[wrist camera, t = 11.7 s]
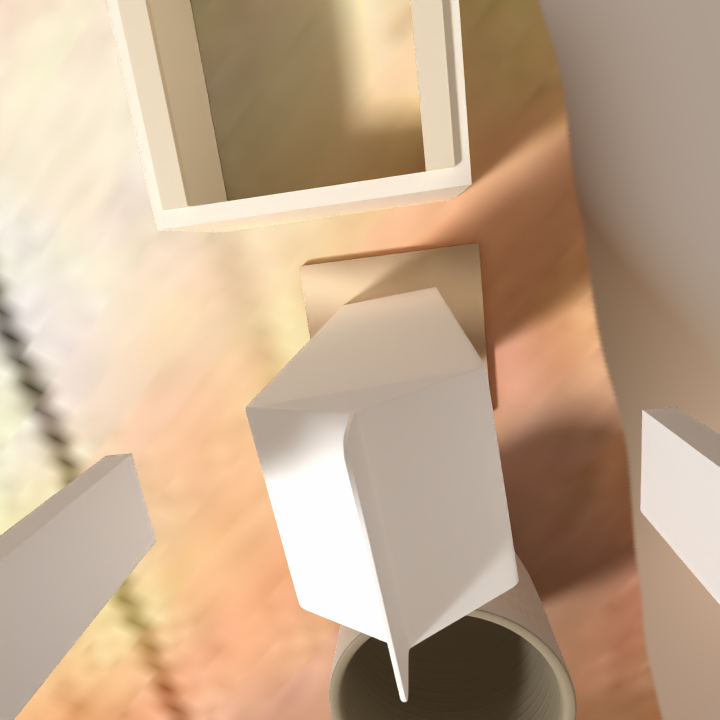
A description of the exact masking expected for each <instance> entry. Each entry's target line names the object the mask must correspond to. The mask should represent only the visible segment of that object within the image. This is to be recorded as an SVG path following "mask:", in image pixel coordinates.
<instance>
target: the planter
mask: <svg viewBox="0 0 720 720" xmlns="http://www.w3.org/2000/svg"><path fill="white" fill-rule="evenodd" d="M515 558H516V564H517V571H518V579H519V581H518V583H517V584H516V585H515V586H514V587H513V588H511V589H509V590H508V591H506V592H504V593H503V594H501V595H499V596H497V597H496V598H494V599H492V600H491V601H489V602H487V603H486V604H484V605H482V606H481V607H479V608H477V609H475V610H474V611H472V612H470V613H469V614H467V615H465V616H464V617H462V618H460V619H459V620H457V621H455V622H453V623H452V624H450V625H448V626H447V627H445V628H443V629H442V630H440V631H438V632H436V633H435V634H433V635H431V636H430V637H428V638H426V639H425V640H423V641H421V642H420V643H418V644H416V645H414V646H413V647H411V648H410V649H409V655H408V700H407V702H402V701H401V699H400V695H399V691H398V687H397V682H396V678H395V674H394V669H393V665H392V661H391V657H390V652H389V648H388V644H387V642H384V641H382V640H379V639H377V638H374V637H372V636H369V635H367V634H364V633H362V632H360V631H357V630H355V629H352V628H350V627H347V626H345V625H342V624H340V630H339V635H338V641H337V646H336V651H335V656H334V661H333V666H332V672H331V678H330V686H329V704H330V710H331V715H332V718H333V720H576V696H575V690H574V687H573V683H572V680H571V677H570V674H569V671H568V669H567V666H566V663H565V661H564V658H563V656H562V653H561V651H560V648H559V646H558V644H557V641H556V639H555V636H554V633H553V631H552V628H551V626H550V623H549V620H548V618H547V615H546V612H545V610H544V607H543V605H542V602H541V600H540V598H539V595H538V593H537V591H536V589H535V586H534V584H533V582H532V579H531V577H530V575H529V573H528V572H527V570H526V568H525V567H524V565H523V563H522V562H521V560H520V559H519V557H518V556H517V554H516V553H515Z"/></svg>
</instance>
